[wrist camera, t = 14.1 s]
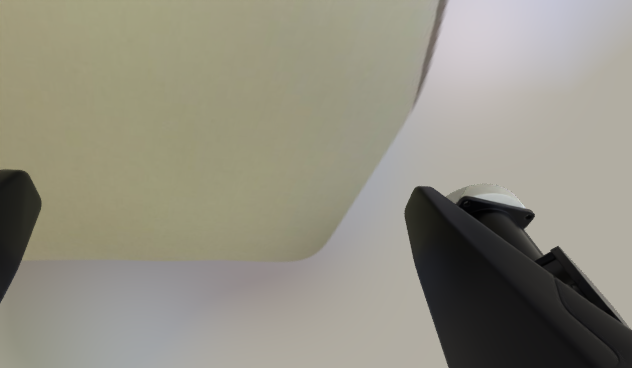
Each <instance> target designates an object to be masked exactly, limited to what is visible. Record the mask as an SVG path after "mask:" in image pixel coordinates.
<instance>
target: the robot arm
mask: <svg viewBox="0 0 632 368" xmlns="http://www.w3.org/2000/svg"><path fill="white" fill-rule="evenodd" d="M467 201H468V202H467ZM465 202H467V203H465ZM40 210H41V198H40V196H39V194H38V192H37V190H36V188H35V186H34V184H33V182H32V180H31V178H30V176H29V174H28V173H27V172H25V171H23V170H8V169H3V170H0V303H1V301H2V299H3V297H4V295H5V293H6V291H7V289H8V287H9V285H10V284H11V282H12V280H13V278H14V276H15V274H16V271H17V270H18V267H19V265H20V263H21V260H22V258H23V255H24V252H25V250H26V247H27V244H28V242H29V239H30V236H31V234H32V231H33V228H34V226H35V223H36V221H37V218H38V215H39V213H40ZM534 217H535V214H534V213H533V212H532V211H531V210H529V209H525V208H521V207H516V206H512V205H507V204H503V203H498V202H494V201H489V200H485V199H480V198H476V197H471V196H463V197H461V198H460V199H459V201H458V202H457V204H454V203H453V202H452V201H450V200H449V199H447V198H446V197H444V196H443V195H442V194H440V193H439V192H438V191H436V190H435V189H434V188H432V187H425V186H418V187H416V188H415V189H414V190H413V192H412V194H411V197H410V199H409V201H408V203H407V205H406V208H405V221H406V225H407V230H408V235H409V240H410V244H411V249H412V254H413V259H414V263H415V266H416V270H417V273H418V276H419V280H420V283H421V285H422V289H423V291H424V295H425V298H426V301H427V304H428V307H429V310H430V313H431V316H432V319H433V322H434V325H435V328H436V331H437V334H438V337H439V340H440V343H441V346H442V349H443V352H444V355H445V358H446V361H447V364H448V367H449V368H632V330H631V329H630V328H629V327H628V325H627V324H626V323H625V321H624V320H623V319H622V318H621V316H620V315H619V314H618V312H617V311H616V310H615V309H614V307H613V306H612V305H611V304H610V303H609V302H608V300H607V299H606V298H605V297H604V296H603V294H601V292H600V291H599V290H598V289H597V288H596V286H594V284H593V283H592V282H591V281H590V280H589V278H588V277H587V276H586V275H585V274H584V273H583V272H582V271H581V270H580V269H579V268H578V267H577V266H576V264H575V263H574V262H573V261H572V260H571V259H570V258H569V257H568V256H567V255H566V254H565V253H564V252H563V250H562V249H561V248H560V247H559V246H557V247H555V248H553V249H551V252H549V253H547V254H545V255H543V254H542V253H541V251H540V250H539V249H538V247H537V246H536V245H535V243H534V242H533V241H532V239H531V238H530V237H529V236H528V234H527V233H526V232H525V230H524V229H525V228H526V227H527V226H528V224H529V223H530V222H531V221H532V220H533V218H534Z"/></svg>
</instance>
